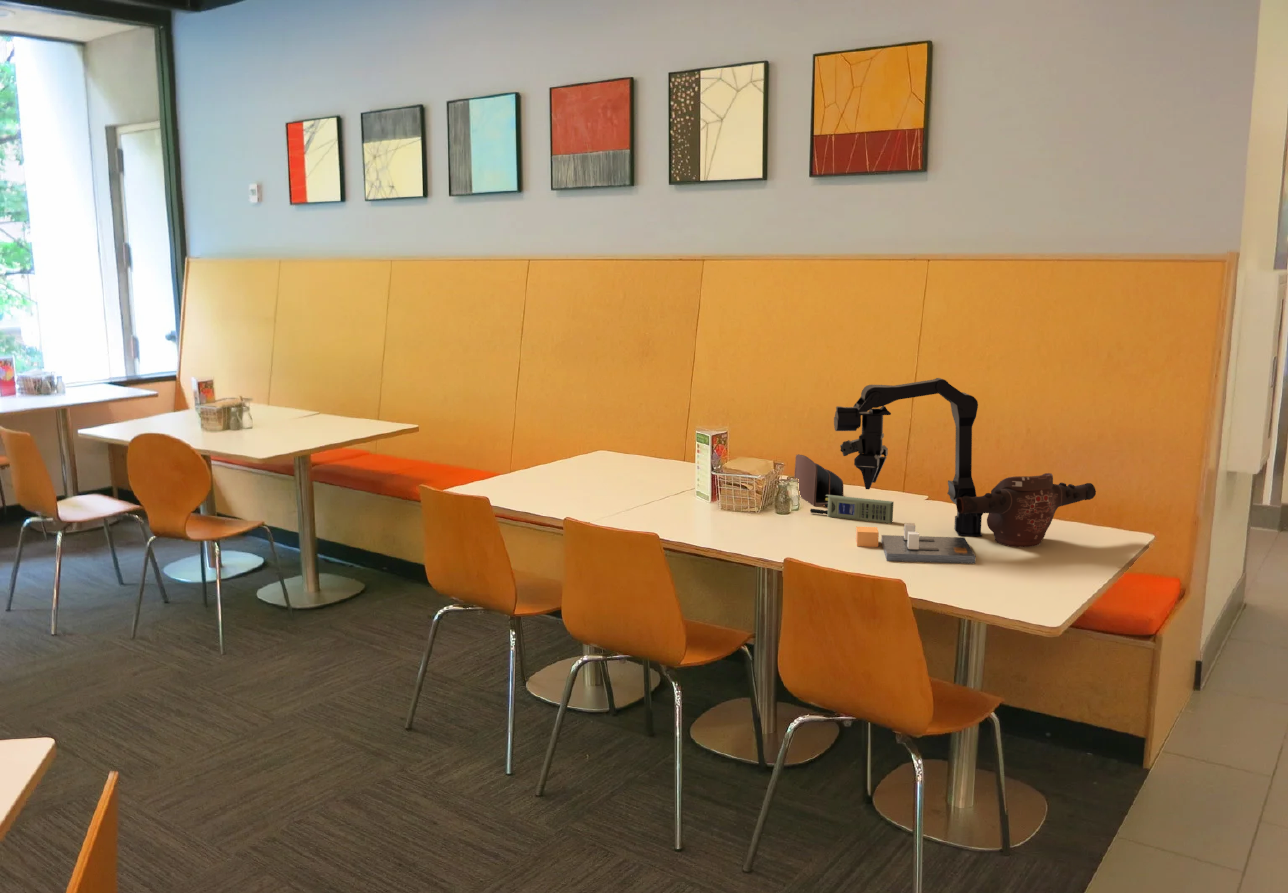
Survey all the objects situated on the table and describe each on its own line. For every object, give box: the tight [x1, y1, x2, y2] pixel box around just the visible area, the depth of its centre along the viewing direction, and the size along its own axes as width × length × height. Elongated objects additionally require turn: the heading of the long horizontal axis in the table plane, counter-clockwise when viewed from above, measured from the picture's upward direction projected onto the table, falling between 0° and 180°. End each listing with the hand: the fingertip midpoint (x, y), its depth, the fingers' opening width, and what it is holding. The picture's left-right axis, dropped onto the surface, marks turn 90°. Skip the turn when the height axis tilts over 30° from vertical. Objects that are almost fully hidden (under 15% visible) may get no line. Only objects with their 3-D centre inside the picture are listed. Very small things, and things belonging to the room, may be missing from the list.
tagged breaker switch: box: [907, 531, 920, 549], centre depth 274 cm, size 3×3×4 cm
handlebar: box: [955, 472, 1097, 548], centre depth 283 cm, size 45×13×20 cm, turn 111°
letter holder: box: [793, 454, 844, 507], centre depth 339 cm, size 10×20×14 cm, turn 11°
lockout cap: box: [855, 526, 879, 548], centre depth 286 cm, size 6×6×4 cm
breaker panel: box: [880, 534, 976, 565], centre depth 277 cm, size 22×18×2 cm
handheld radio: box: [809, 495, 894, 524], centre depth 314 cm, size 7×3×25 cm
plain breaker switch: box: [903, 522, 916, 540], centre depth 282 cm, size 3×3×4 cm
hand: (870, 485), depth 294 cm, fingers open, 9 cm apart
